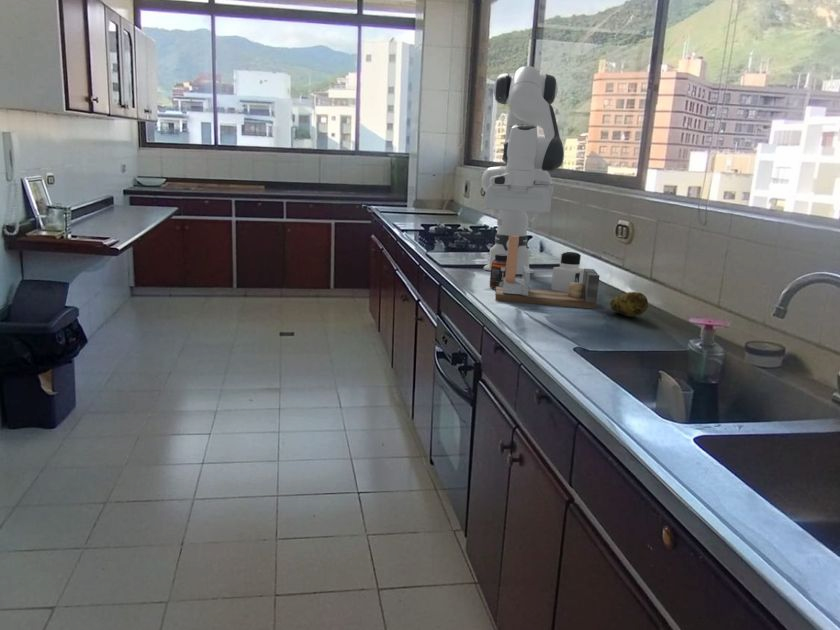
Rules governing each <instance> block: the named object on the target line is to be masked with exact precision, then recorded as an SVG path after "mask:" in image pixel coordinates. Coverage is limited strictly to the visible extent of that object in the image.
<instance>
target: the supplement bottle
mask: <svg viewBox="0 0 840 630" xmlns="http://www.w3.org/2000/svg"><path fill="white" fill-rule="evenodd" d="M506 263H507V255H506V254H495V260H493V261H492V264H491V271H490V275H489V276H490V278H489V287H490V288H491V289H492V290H493V289H494V290H496V287H502V285H503V277H504V278H505V273H506Z"/></svg>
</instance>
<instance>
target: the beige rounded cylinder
mask: <svg viewBox="0 0 840 630" xmlns="http://www.w3.org/2000/svg"><path fill="white" fill-rule="evenodd" d="M583 290H584V284H582V283H575V282H572V283H570V284H569V293H568V296H569V297H572V298H583Z"/></svg>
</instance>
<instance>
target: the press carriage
mask: <svg viewBox="0 0 840 630" xmlns="http://www.w3.org/2000/svg"><path fill="white" fill-rule="evenodd" d="M518 244H519V236H516V235H509V241H508V252H507V263H506V273H505V278H504V277H503V285H502V289H503V293H509V294H522V295H526V296H528V291H529V289H530V278H531V273H530V270H529V268H530V266H529V267H528V266H523V273H522V274H521V276H522V277H521V278H516V275H517V274H516V265H517V255H518Z"/></svg>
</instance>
